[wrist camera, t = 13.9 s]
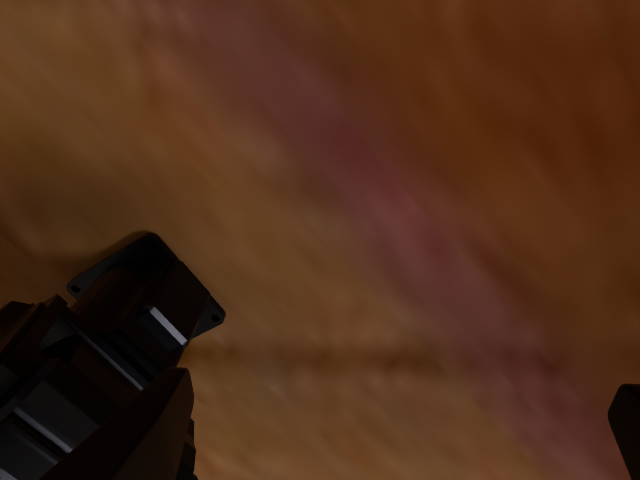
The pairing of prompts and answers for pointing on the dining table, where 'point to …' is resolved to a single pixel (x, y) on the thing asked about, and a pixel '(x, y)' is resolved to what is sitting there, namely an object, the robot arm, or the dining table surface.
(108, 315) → the robot arm
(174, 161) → the dining table surface
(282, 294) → the dining table surface
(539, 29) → the dining table surface
